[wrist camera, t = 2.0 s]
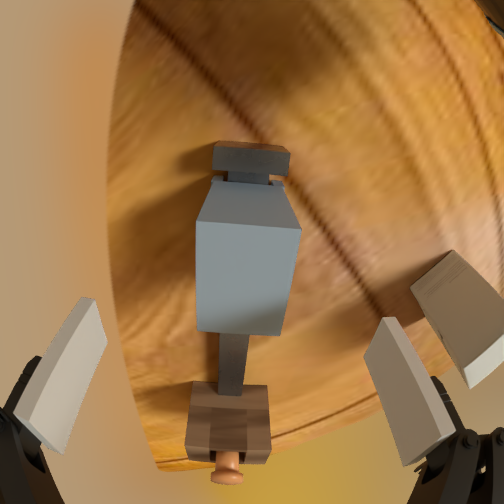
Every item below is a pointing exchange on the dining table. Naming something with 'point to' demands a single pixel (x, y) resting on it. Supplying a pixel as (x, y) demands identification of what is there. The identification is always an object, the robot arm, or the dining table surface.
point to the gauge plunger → (227, 468)
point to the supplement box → (463, 316)
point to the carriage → (245, 258)
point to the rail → (255, 172)
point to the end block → (228, 424)
